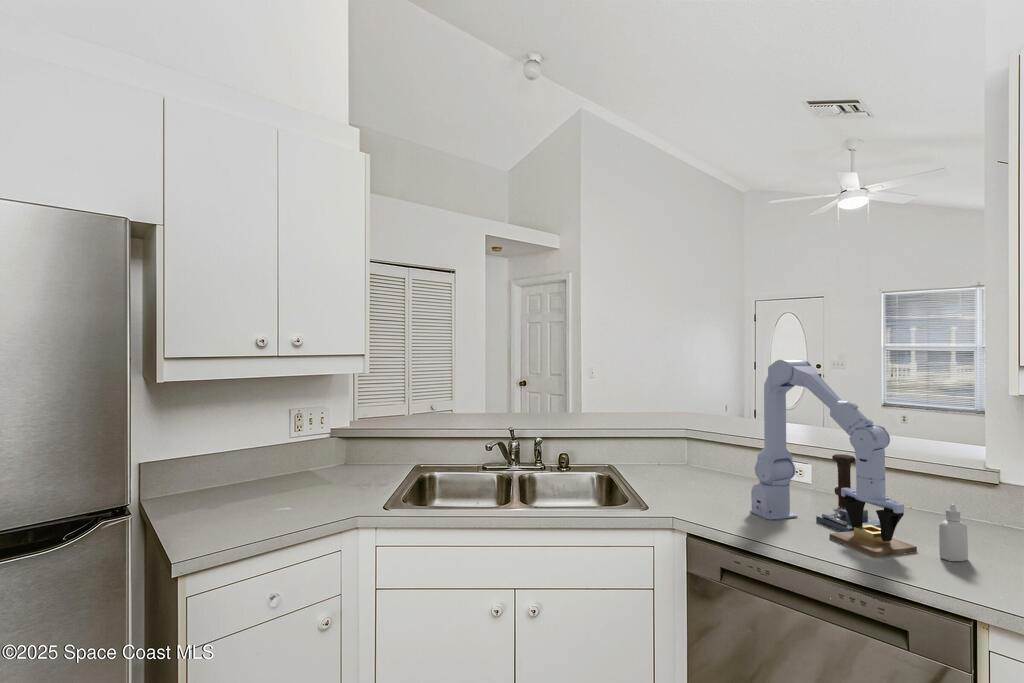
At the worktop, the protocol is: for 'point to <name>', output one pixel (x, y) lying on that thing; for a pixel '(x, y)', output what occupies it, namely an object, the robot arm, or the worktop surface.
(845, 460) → the bolt
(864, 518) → the vise
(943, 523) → the eye dropper bottle
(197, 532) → the worktop surface
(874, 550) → the board
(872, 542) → the collar
